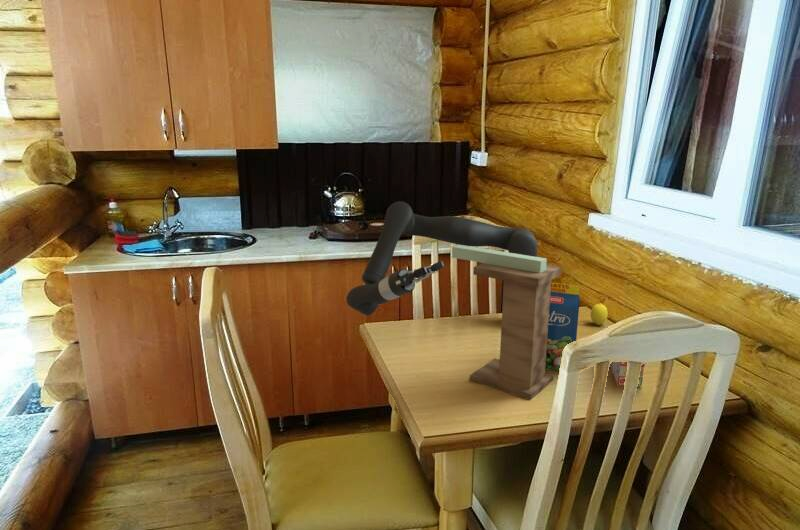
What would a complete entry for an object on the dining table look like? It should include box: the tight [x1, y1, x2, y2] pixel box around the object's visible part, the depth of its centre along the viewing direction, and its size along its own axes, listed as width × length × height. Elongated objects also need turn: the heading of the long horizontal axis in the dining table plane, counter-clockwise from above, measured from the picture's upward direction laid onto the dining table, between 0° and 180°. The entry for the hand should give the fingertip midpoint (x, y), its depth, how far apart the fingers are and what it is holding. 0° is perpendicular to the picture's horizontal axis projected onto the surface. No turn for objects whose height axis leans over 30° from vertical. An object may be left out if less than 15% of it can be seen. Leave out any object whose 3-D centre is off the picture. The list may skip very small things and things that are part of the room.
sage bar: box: [451, 244, 547, 273], centre depth 149 cm, size 4×26×3 cm, turn 52°
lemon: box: [590, 302, 609, 326], centre depth 194 cm, size 6×6×8 cm
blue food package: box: [545, 281, 581, 372], centre depth 159 cm, size 6×12×25 cm, turn 67°
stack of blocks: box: [607, 326, 645, 388], centre depth 159 cm, size 21×6×12 cm, turn 169°
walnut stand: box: [469, 263, 563, 401], centre depth 150 cm, size 14×18×32 cm
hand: (434, 266), depth 163 cm, fingers open, 8 cm apart
